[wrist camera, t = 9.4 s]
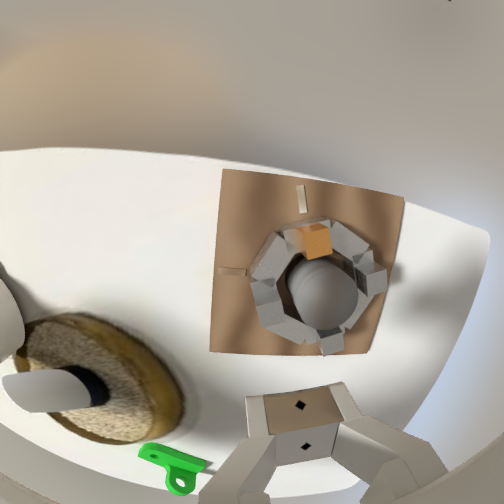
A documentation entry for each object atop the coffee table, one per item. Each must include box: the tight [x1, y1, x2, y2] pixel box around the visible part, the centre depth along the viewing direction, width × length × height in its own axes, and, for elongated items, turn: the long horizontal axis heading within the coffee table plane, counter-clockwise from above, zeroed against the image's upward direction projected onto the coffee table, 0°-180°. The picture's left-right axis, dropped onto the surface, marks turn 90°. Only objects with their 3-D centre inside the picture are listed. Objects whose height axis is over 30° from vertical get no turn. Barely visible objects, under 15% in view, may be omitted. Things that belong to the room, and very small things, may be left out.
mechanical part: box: [138, 443, 206, 496], centre depth 36 cm, size 12×6×8 cm, turn 56°
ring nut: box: [249, 216, 388, 357], centre depth 28 cm, size 14×14×6 cm
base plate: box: [209, 169, 404, 356], centre depth 28 cm, size 22×22×8 cm
